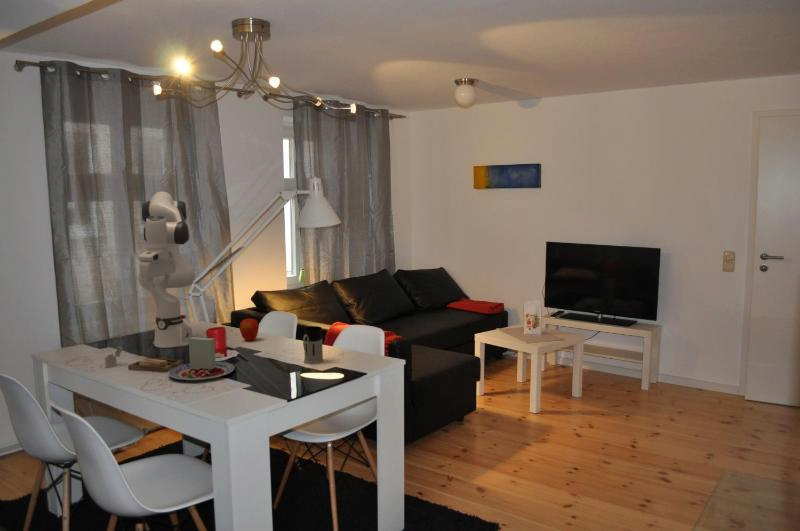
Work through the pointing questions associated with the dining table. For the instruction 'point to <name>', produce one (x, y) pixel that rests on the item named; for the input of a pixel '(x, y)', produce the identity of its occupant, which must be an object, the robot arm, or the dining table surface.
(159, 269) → the robot arm
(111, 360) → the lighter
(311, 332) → the glass holder
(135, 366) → the walnut rack
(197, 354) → the grey-green rectangular block
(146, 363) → the offcut stack
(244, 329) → the apple
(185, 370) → the ceramic plate
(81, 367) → the dining table surface
